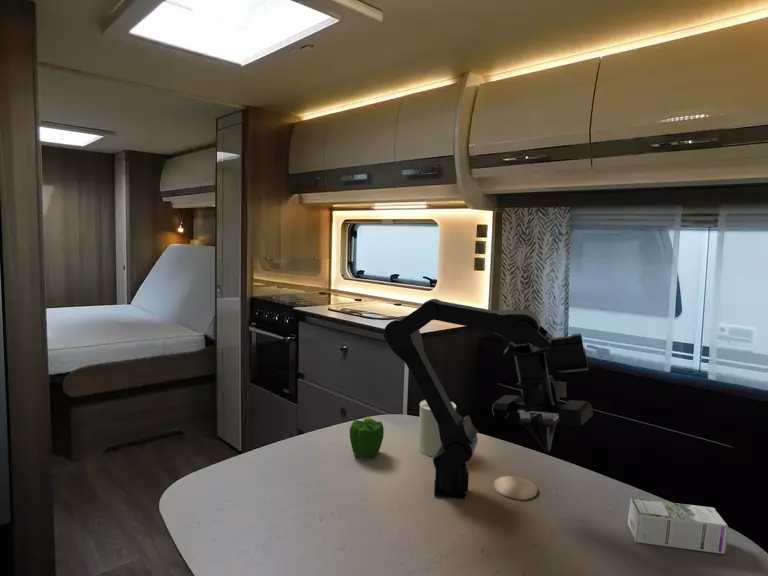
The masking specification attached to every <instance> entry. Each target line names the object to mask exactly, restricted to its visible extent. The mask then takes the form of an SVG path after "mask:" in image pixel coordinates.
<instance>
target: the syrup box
mask: <svg viewBox="0 0 768 576" xmlns="http://www.w3.org/2000/svg"><path fill="white" fill-rule="evenodd" d="M628 510H629V511H628V517H627V518H628V519H627V526H628V527H629V529H630V532H631V534H632V535H633V538H634V542H636V543H640V544H645V545H655V546H661V547H669V548H670V547H671V548H675V549H676V548H677V549H683V550H692V551H699V552H706V553H713V554H721V555H724V554H725V552H726V549H727V544H728V538H729V529H728V527H729V526H728V524H727V523H726V522H725V520H724V519H723V518H722V516H721V515H720V514H719V513H718V511H716V510H717V509H716V508H715V507H712V506H703V505H695V504H685V503H677V502H670V501H662V500H661V501H660V500H652V499H643V498H635V497H630V503H629V509H628Z"/></svg>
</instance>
